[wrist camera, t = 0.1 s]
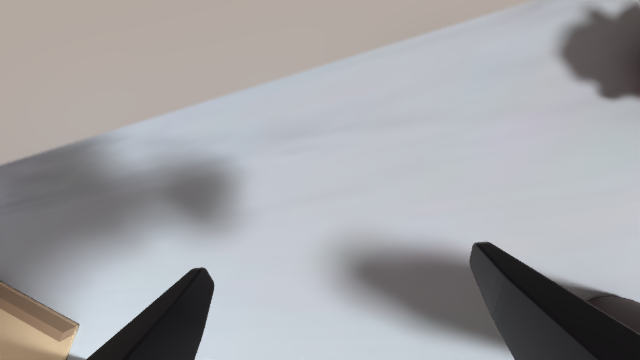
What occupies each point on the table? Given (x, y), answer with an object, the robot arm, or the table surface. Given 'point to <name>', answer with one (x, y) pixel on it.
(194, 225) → the table surface
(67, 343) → the wooden tray
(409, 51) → the table surface
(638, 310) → the bottle
